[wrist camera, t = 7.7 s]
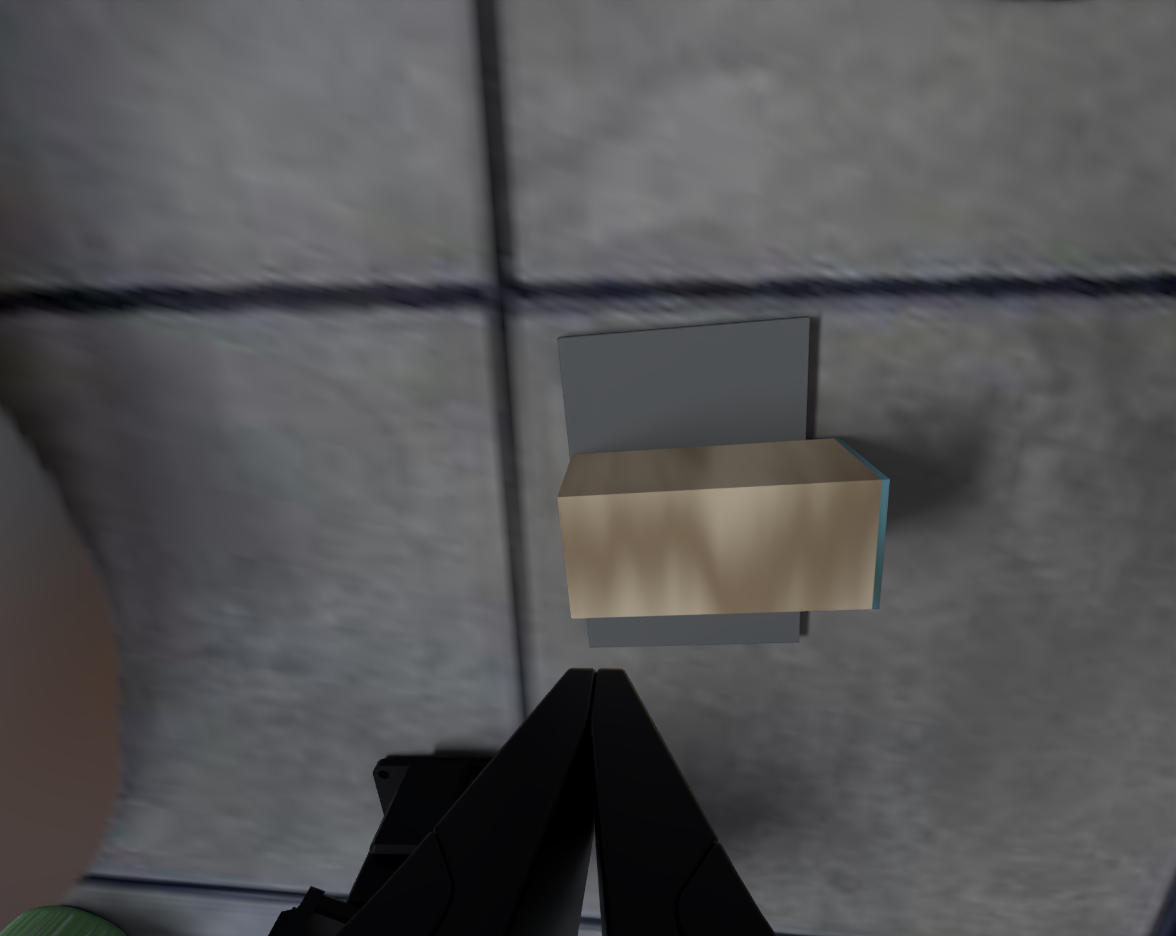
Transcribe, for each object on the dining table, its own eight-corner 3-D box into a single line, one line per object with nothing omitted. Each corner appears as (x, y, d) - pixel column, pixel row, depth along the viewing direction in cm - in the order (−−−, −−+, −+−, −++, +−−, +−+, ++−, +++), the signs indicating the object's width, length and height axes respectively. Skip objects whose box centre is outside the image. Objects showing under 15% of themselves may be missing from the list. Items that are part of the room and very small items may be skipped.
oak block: (879, 608, 17) (571, 618, 18) (834, 545, 20) (583, 556, 21) (890, 479, 15) (557, 497, 16) (839, 437, 19) (572, 454, 20)
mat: (796, 635, 22) (799, 642, 22) (590, 641, 23) (589, 647, 23) (806, 316, 18) (809, 317, 18) (558, 337, 19) (557, 338, 19)
